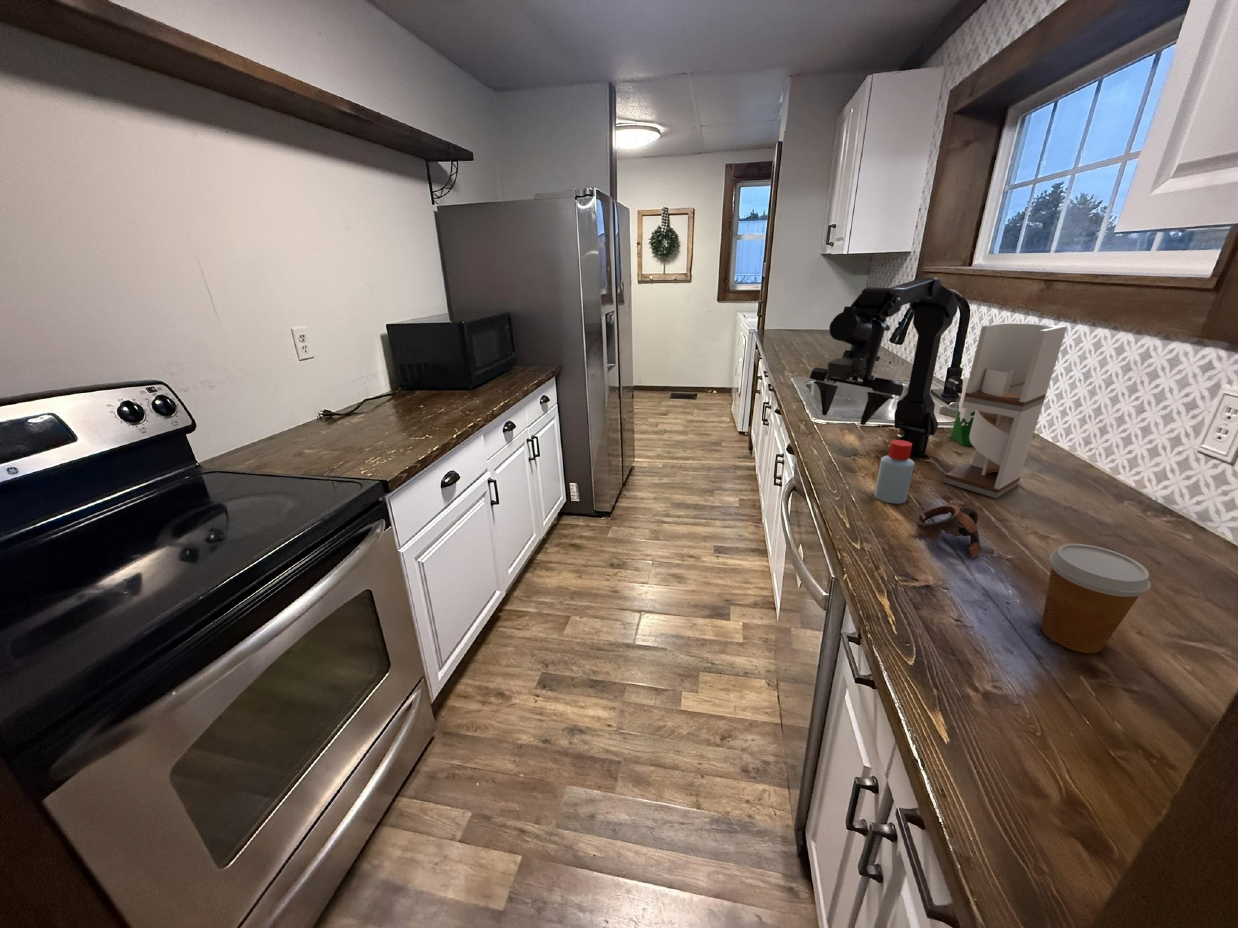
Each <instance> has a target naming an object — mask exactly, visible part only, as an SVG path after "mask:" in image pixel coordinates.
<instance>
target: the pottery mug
mask: <svg viewBox="0 0 1238 928" xmlns="http://www.w3.org/2000/svg"><path fill="white" fill-rule="evenodd" d="M948 514H950V516H949V517H948V518H945V519H943V520H939V521H935V522H926V521H928V520H930V519H932V518H934V517H938V516H942V515H948ZM923 515H924V517H923ZM923 515H922V514H920V515H918V516H917V517H916V518H915V524H916V527H915V533H916V535H918V536H919V537H924V538H932V539H933V540H934V541H936V542H939V537H940V535H941V533H942V532H943V533H944V534H947V535H950V536H952V537H956V538H957V537H961V536H962V537H964V538H965V537H966V538H967V537H969V539H970V540H969V545H970V546H969V547H968V548H967V550H968V551H969V557H970V559H975V558H977V557H978V556H979V555H980V553H981V551H982V550H981V541H980V534H979V530H978V526H977V523H978V520H979V513H978V512H977V510H976V509H975V508H973V507H971V506H963V507H958V506H957V505H951V504H945V505H939V506H934V507H931V508H929V509H927V510H924V511H923Z"/></svg>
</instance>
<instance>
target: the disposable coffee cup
mask: <svg viewBox="0 0 1238 928" xmlns="http://www.w3.org/2000/svg"><path fill="white" fill-rule="evenodd" d="M1048 559H1049V564H1050V572H1049V573H1050V574H1049V578H1048V584H1047V590H1046V595H1045V596H1046V597H1045V602H1044V607H1043V613H1042V621H1041V625H1040V628H1041V632H1043V634H1044V635H1045V636H1046V637H1047V638H1048V639H1050V640H1051V641H1052V642H1054V643H1056V644H1058V645H1059V646H1062V647H1063V648H1066V649H1069V650H1072V651H1074V652H1078V653H1084V654H1097V653H1100V652H1101V651H1102V650H1103V648H1104V647H1105V646H1106V644H1107V643H1108V641H1110V638H1112V635H1113V634H1114V632H1116V630H1117V628H1118V627H1119V625H1120V624H1121V623H1122V621H1123V620H1124V618H1125V617H1126V615H1127V614H1128V613H1129V611H1130V610H1131V609H1132V607H1133V606H1134V604H1135V603H1136V602H1137V600H1138V599H1139V598H1140V596H1141V595H1143V594H1144V593H1146V592H1148V591H1149V590H1150V588H1151V587H1152V583H1151V581H1150V572H1149V571H1148V569H1147V568H1146V567H1145V565H1144V566H1143V565H1142V564H1141V563H1140V562H1138V561H1137V560H1135V559H1133V558H1130V557H1129V556H1127V555H1124V554H1121V553H1119V552H1117V551H1114V550H1111V549H1108V548H1105V547H1100V546H1095V545H1090V544H1083V543H1066V544H1061V545H1060V546H1058V547H1057V549H1056V550H1055V551H1052V552H1051V553H1050V554H1049V557H1048Z"/></svg>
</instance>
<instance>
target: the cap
mask: <svg viewBox="0 0 1238 928" xmlns="http://www.w3.org/2000/svg"><path fill="white" fill-rule="evenodd" d="M911 449H912V443H910V442H908V441H903V440H896V439H892V440H891V441H890V444H889V448H888V453H887V456H889V457H890V458H893V459H897V460H908V459H911V456H910V453H911Z"/></svg>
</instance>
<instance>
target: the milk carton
mask: <svg viewBox="0 0 1238 928" xmlns="http://www.w3.org/2000/svg"><path fill="white" fill-rule="evenodd" d="M969 376H970V375H963V376H962V378H963V379H962V389H961V396H960V399H959V403H958V408H957V412H956V415H955V420H954V423H953V427H952V430H951V433H950V436H949V438H950V439H952V440H954V441H956V442H957V443H959V444H960V445H962V446H972V447H973V445H972V444H971V442H970V439H969V435H970V431H971V427H972V423H973V419H974V416H975V412H976V410H972V409H966V408H962V405H963V401H964V397H965V393H966V389H967V385H968V381H969Z"/></svg>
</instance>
